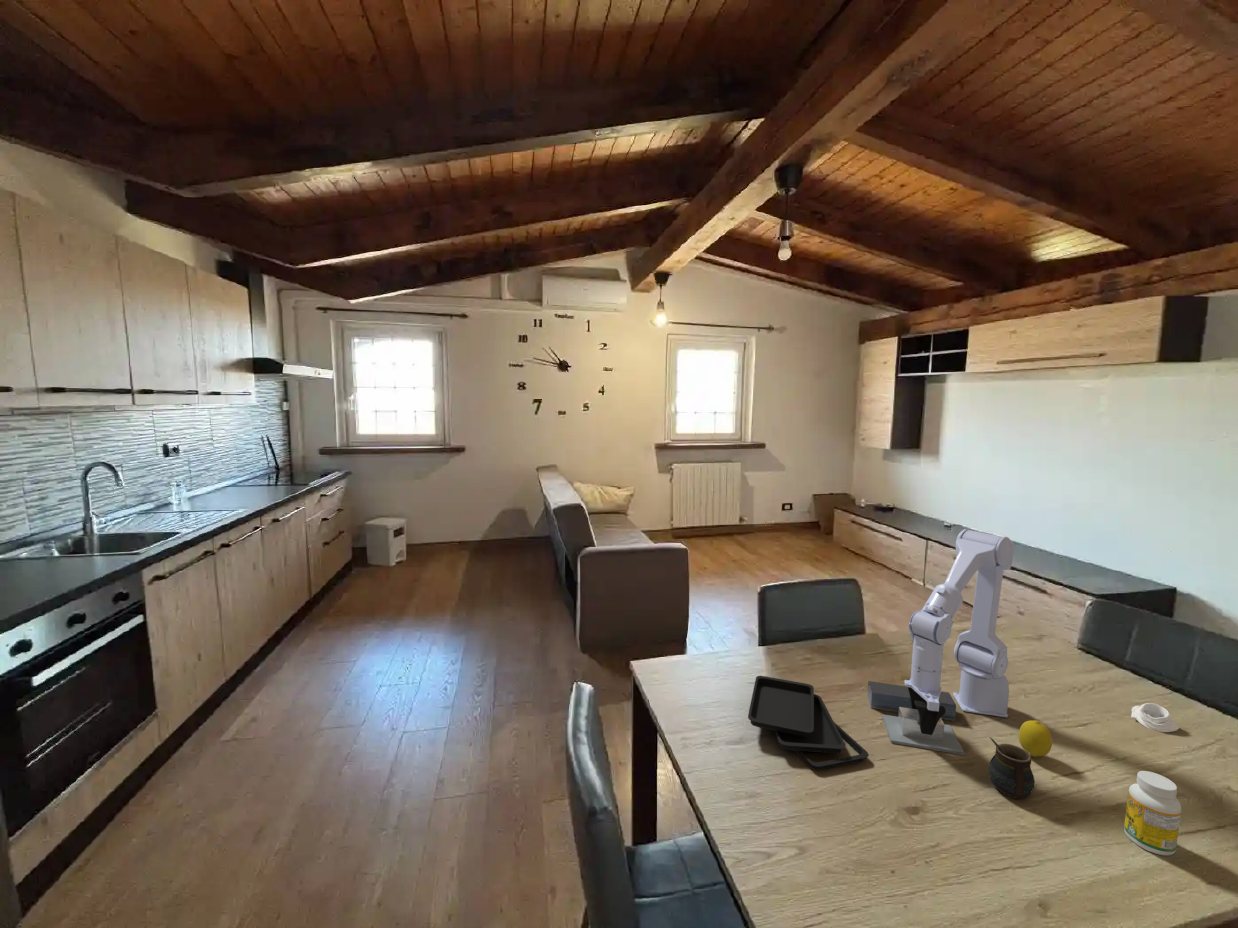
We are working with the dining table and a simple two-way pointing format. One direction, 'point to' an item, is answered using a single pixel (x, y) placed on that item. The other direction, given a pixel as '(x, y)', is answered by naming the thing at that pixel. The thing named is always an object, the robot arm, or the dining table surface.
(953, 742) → the mat
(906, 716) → the pale grey block
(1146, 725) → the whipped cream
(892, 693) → the body
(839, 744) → the stack of dark trays
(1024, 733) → the lemon
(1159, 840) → the supplement bottle
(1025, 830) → the dining table surface
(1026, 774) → the mate gourd
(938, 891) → the dining table surface
